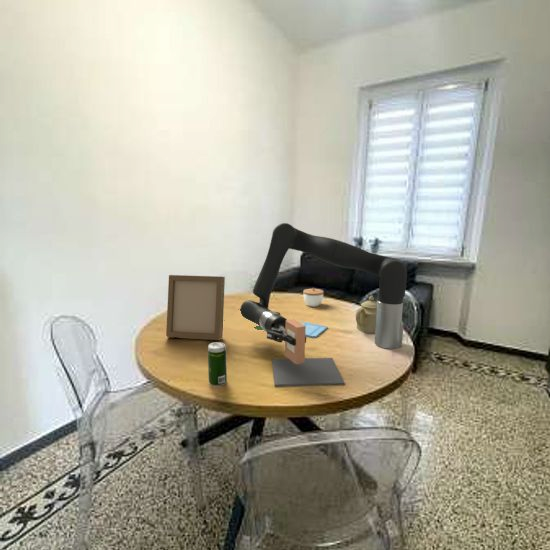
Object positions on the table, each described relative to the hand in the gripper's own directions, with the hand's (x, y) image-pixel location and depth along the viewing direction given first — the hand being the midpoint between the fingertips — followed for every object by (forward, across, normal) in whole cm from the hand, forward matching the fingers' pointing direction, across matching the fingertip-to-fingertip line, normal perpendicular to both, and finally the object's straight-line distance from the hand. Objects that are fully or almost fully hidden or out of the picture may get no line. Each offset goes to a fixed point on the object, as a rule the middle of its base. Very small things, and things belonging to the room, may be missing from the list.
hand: (299, 341), depth 105 cm
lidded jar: (-62, +48, +12) cm, 79 cm away
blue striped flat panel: (-32, +25, +12) cm, 43 cm away
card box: (-3, 0, +7) cm, 8 cm away
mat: (-2, +4, +12) cm, 12 cm away
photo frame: (-50, -18, +12) cm, 54 cm away
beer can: (-8, -24, +12) cm, 28 cm away
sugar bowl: (-20, +48, +12) cm, 53 cm away
